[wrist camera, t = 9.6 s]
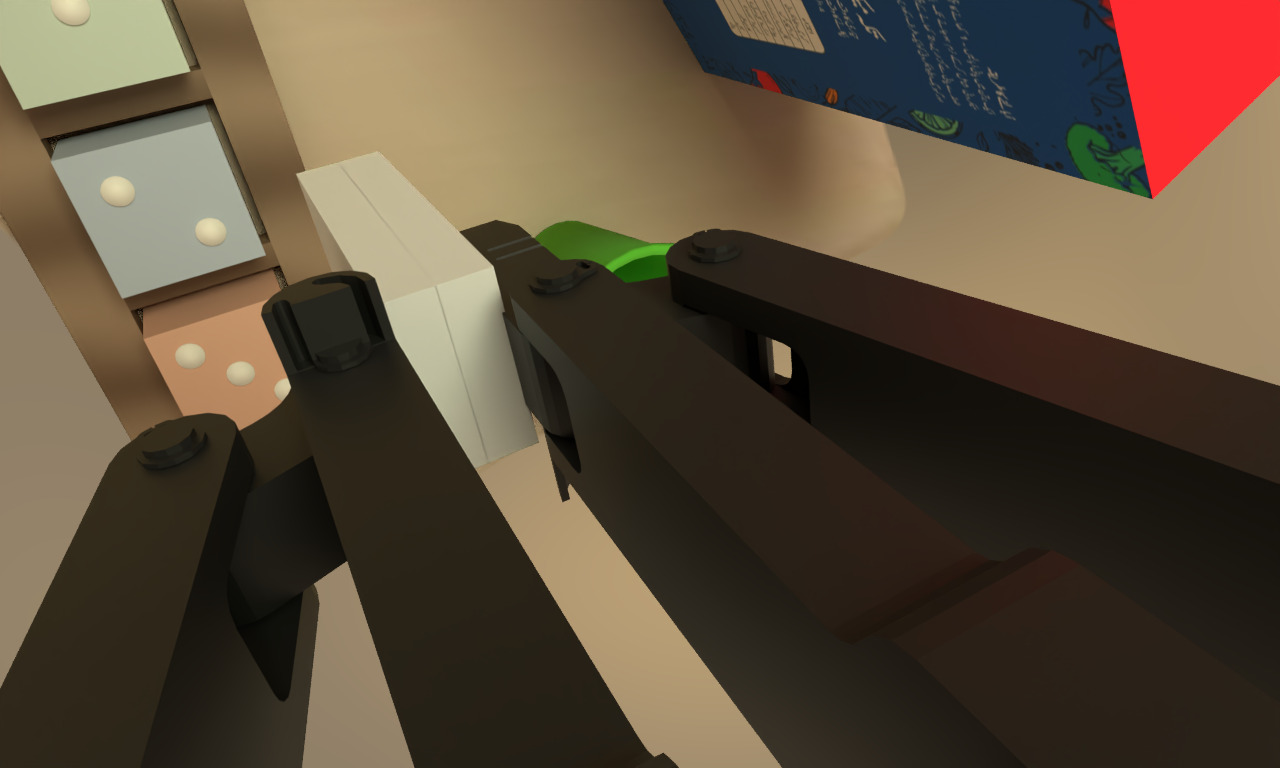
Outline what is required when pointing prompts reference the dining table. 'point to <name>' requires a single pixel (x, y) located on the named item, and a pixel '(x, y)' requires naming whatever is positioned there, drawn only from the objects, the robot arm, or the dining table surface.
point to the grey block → (158, 199)
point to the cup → (607, 250)
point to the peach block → (219, 349)
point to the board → (61, 247)
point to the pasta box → (1011, 71)
